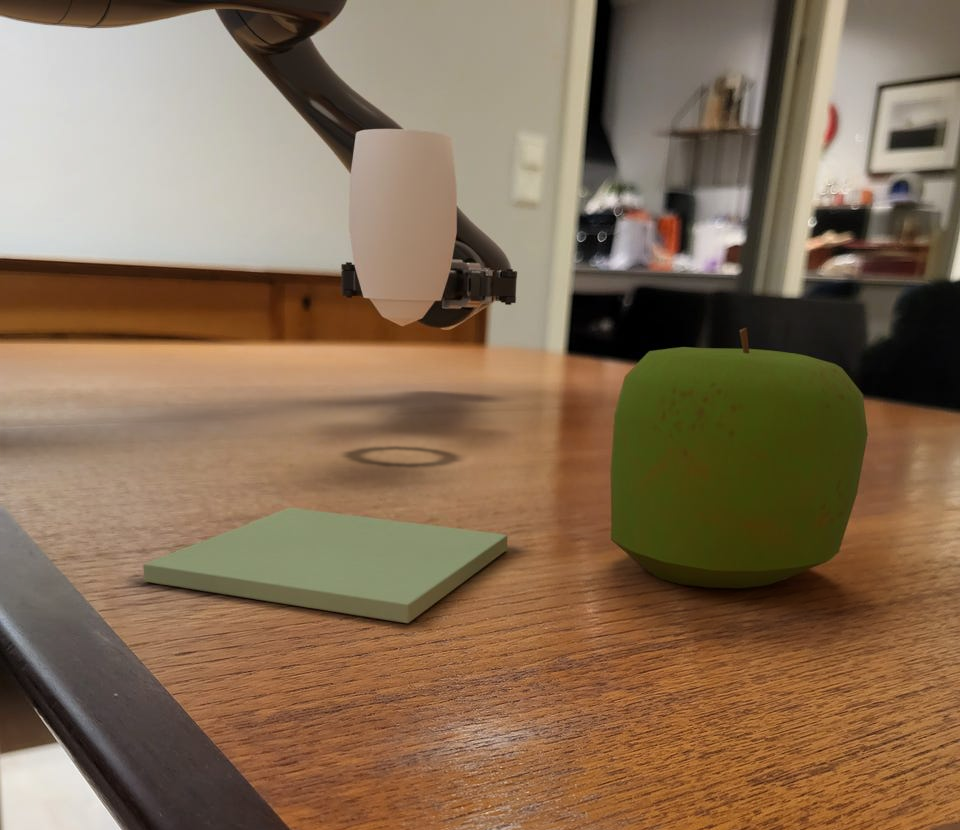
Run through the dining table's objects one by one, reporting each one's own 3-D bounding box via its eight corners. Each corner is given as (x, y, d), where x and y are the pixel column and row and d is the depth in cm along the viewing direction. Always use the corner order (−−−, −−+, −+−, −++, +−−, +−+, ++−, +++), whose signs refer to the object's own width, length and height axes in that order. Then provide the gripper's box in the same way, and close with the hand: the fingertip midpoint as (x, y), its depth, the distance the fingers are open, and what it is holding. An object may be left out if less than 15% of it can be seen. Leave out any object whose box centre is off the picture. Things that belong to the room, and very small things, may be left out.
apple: (810, 627, 39) (857, 340, 36) (562, 579, 44) (580, 322, 40) (860, 565, 49) (901, 331, 45) (649, 531, 53) (671, 317, 50)
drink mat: (143, 582, 42) (142, 563, 41) (289, 522, 52) (289, 507, 52) (408, 624, 38) (408, 604, 38) (507, 550, 49) (508, 534, 48)
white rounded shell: (355, 465, 68) (353, 124, 61) (346, 447, 74) (343, 138, 67) (459, 465, 69) (470, 132, 62) (442, 447, 76) (449, 145, 69)
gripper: (367, 235, 90) (326, 226, 75) (524, 241, 89) (515, 234, 74) (367, 322, 93) (328, 331, 78) (520, 329, 92) (510, 339, 77)
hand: (419, 283), depth 76 cm, fingers open, 8 cm apart
